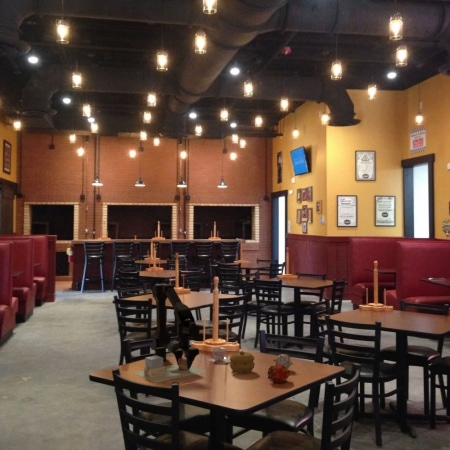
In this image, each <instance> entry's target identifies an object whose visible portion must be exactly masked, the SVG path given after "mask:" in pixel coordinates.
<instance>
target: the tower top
mask: <svg viewBox="0 0 450 450" xmlns="http://www.w3.org/2000/svg"><path fill="white" fill-rule="evenodd" d="M144 360H145V362H144V364H145V365H144V366H146V367H149V368H151V369H153V368H159V367H163V366H164V362H163V358H162V357H159V356H155V355H152V356H147V357H146V356H145V357H144Z"/></svg>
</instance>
